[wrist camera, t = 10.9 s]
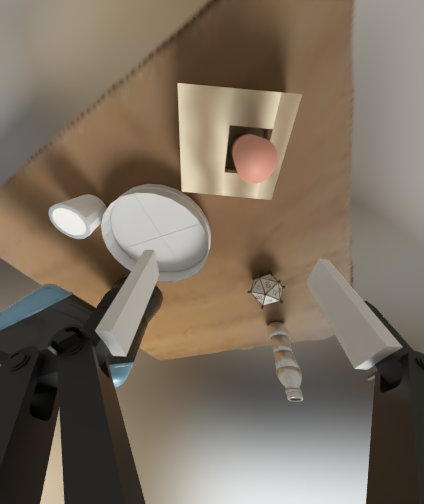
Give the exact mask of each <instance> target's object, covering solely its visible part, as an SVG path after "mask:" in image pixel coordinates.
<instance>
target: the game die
mask: <svg viewBox="0 0 424 504" xmlns="http://www.w3.org/2000/svg"><path fill="white" fill-rule="evenodd" d="M271 273H272V272H271V271H270V274H268V275H264V276H261V277H260V275H258V277H259V278H256V279H254V278H252V280H254V282H253V285H252V288H251V291H248V293H250V292H251V293H252V294H253V296H254V297H255V298H256V299H257V300H258V301H259V302H260V304H261V305H262V306H261V308H262V309H263V306H265V305H268V304H272V303H275V302H278V301H280V302H281V303H283V301H282V300H281V295H282V288H285V286H283V287H282V286H281V284H280V282H281V280H279V281H277V280H276V279H275V278H274V277H273V276H272V275H271Z"/></svg>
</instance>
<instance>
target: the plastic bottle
mask: <svg viewBox="0 0 424 504" xmlns="http://www.w3.org/2000/svg"><path fill="white" fill-rule="evenodd" d="M267 333H268V336H269V338H270V341H271V344H272V347H273V350H274V356H275V362H276V370H277V376H278V378H279V380H280V381H281V383H282V384H283V385H284V386H285V387H286V390H285V391H286V393H287V398H288V400H290V401H301V400H303V397H302V391H301V390H300V389H299V387H300V384H301V380H302V374H301V371H300V369H299V367H298V364H297V362H296V360H295V358H294V355H293V353H292V350H291V345H290V341H289V334H288V330H287V328H286V326H285V325H284V324H283V323H281V322H272V323H270V324H269V325H268V327H267Z"/></svg>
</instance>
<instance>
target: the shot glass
mask: <svg viewBox="0 0 424 504" xmlns="http://www.w3.org/2000/svg"><path fill="white" fill-rule="evenodd" d="M106 210H107V207H106V205H105V204H104V203H103V201H102V200H101V199H99V198H98V197H96V196H93V195H90V194H87V195H82V196H79V197H76V198H73V199H70V200H67V201H64V202H61V203H58V204H55V205H53V206H52V207H50V209H49V213H48V214H49V217H50V220H51V222H52V223H53V225H54V226H55V227H56V228H57V229H58V230H59V231H61V232H62V233H63V234H65V235H67V236H69V237H72V238H76V239H84V238H86V237H88V236H89V235H90V234H91V233H92V232H93V231H94V230H95V229H96V228H97V227H98V226H99V225H100V224H101V223H102V219H103V214H104V213H105V211H106Z"/></svg>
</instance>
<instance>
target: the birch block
mask: <svg viewBox="0 0 424 504" xmlns="http://www.w3.org/2000/svg"><path fill="white" fill-rule="evenodd" d="M301 96H302V94H293V93H282V92H271V91H260V90H249V89H238V88H227V87H216V86H205V85H194V84H183V83H178V108H179V134H180V160H181V186H182V192H191V193H202V194H213V195H224V196H235V197H246V198H257V199H268V200H271V199H272V195H273V192H274V188H275V185H276V182H277V178H278V175H279V171H280V168H281V164H282V161H283V158H284V154H285V151H286V147H287V144H288V141H289V137H290V134H291V130H292V127H293V124H294V120H295V117H296V113H297V110H298V107H299V103H300V100H301ZM242 133H250V134H253V135H256V136H259V137H262V138H265V139H267V140H269V141H271V142H272V143H273V144H274V146H275V148H276V150H277V155H278V160H277V165H276V168H275V170H274V172H273V173H272V174H271V176H270V177H269V178H267V179H266V180H265V181H263V182H261V183H257V184H250V183H247V182H245V181H243V180H242V179H241V178H240V177H239V175H238V173H237V170H236V167H235V163H234V160H233V156H232V153H231V146H232V143H233V141H234V139H235V138H236V137H237V136H238V135H240V134H242Z"/></svg>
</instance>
